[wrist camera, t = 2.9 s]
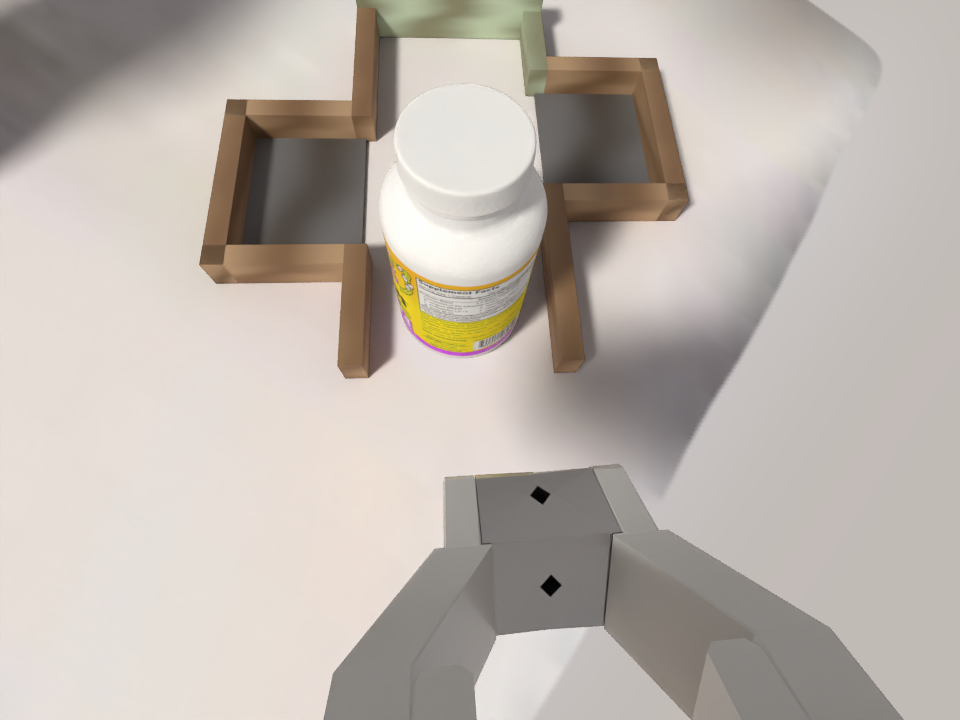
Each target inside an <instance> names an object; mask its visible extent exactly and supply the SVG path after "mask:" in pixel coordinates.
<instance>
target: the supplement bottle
mask: <svg viewBox="0 0 960 720" xmlns="http://www.w3.org/2000/svg"><path fill="white" fill-rule="evenodd" d="M394 146H395V153H396V161H395V162H394V164H393V165H392V166H391V168H390V170H389V171H388V173H387V175H386V177H385V179H384V182H383V185H382V188H381V192H380V198H379V216H380V221H381V227H382V231H383V236H384V240H385V244H386V248H387V253H388V257H389V261H390V266H391V271H392V275H393V279H394V284H395V289H396V293H397V297H398V301H399V306H400V310H401V314H402V317H403V320H404V322H405V325H406V327H407V329H408V330H409V332H410V333H411V335H412V336H413V337H414V338H415V339H416V340H417V341H418V342H419V343H420V344H421V345H422V346H423V347H425V348H426V349H428V350H429V351H431V352H433V353H435V354H438V355H441V356H444V357H448V358H459V359H465V358H473V357H477V356H481V355H483V354H486V353H488V352H490V351H492V350H494V349H495V348H497V347H498V346H499V345H501V344H502V343H503V342H504V341H505V340H506V339H507V338H508V336H509V335H510V334H511V332H512V331H513V329H514V327H515V325H516V323H517V320H518V317H519V313H520V310H521V307H522V303H523V300H524V297H525V293H526V290H527V286H528V283H529V280H530V276H531V273H532V269H533V266H534V262H535V259H536V256H537V253H538V249H539V246H540V243H541V239H542V236H543V232H544V229H545V225H546V220H547V198H546V193H545V189H544V186H543V183H542V181H541V178H540V177H539V175H538V173H537V171H536V169H535V168H534V167H533V164H534V158H535V153H536V133H535V129H534V126H533V124H532V121H531V119H530V117H529V116H528V114H527V113H526V111H525V110H524V109H523V108H522V107H521V106H520V105H519V104H518V103H517V102H516V101H515V100H513V99H512V98H511V97H510V96H508V95H506V94H504V93H502V92H500V91H498V90H496V89H493V88H490V87H487V86H483V85H477V84H465V83H461V84H450V85H444V86H440V87H436V88H433V89H431V90H428V91H426V92H424V93H423V94H421V95H419V96H418V97H416V98H415V99H414V100H413V101H411V102H410V103H409V104H408V105H407V107H406V108H405V109H404V110H403V112H402V113H401V115H400V117H399V119H398V121H397V123H396V127H395V132H394Z"/></svg>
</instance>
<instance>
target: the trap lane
mask: <svg viewBox="0 0 960 720" xmlns="http://www.w3.org/2000/svg"><path fill="white" fill-rule="evenodd" d="M542 2H543V0H356V3H357V22H356V40H355V58H354V76H353V94H352V101H329V100H233V99H227V104H226V110H225V116H224V122H223V128H222V133H221V139H220V145H219V151H218V157H217V163H216V169H215V175H214V181H213V187H212V193H211V198H210V204H209V210H208V216H207V222H206V228H205V234H204V240H203V246H202V252H201V258H200V263H199V265H200V266H201V267H202V268H203V270H204V271H205V272H206V273H207V274H208V275H209V276H210V277H211V278H212V279H213V281H214V282H215V283H216V284H224V283H296V282H342V293H341V311H340V329H339V347H338V365H337V366H338V367H339V369H340V371H341V372H342V374H343V375H344V377H345V378H368V377H369V346H370V315H371V284H372V261H371V257H370V254H369V250H368V247H367V244H362V243H363V219H364V194H365V170H366V145H367V141H376V129H377V98H378V67H379V37H432V38H484V39H520V47H521V56H522V66H523V76H524V85H525V95H526V96H534V98H535V107H536V116H537V125H538V134H539V143H540V152H541V161H542V170H543V179H544V183H543V186H544V189H545V193H546V198H547V220H546V225H545V229H544V232H543V236H542V239H541V250H542V260H543V270H544V280H545V289H546V299H547V309H548V318H549V328H550V338H551V348H552V357H553V367H554V373H569V372H576V371H577V370H578V369H579V367H580V366H581V364H582V363H583V362H584V360H585V356H584V348H583V340H582V332H581V324H580V316H579V308H578V300H577V293H576V285H575V277H574V269H573V261H572V253H571V245H570V237H569V229H568V222H567V221H675V220H676V218H677V217H678V215H679V214H680V212H681V211H682V209H683V208H684V207H685V205H686V204H687V202H688V201H689V197H688V193H687V189H686V184H685V180H684V176H683V171H682V167H681V163H680V158H679V154H678V150H677V145H676V141H675V137H674V132H673V128H672V124H671V119H670V115H669V111H668V106H667V102H666V98H665V93H664V89H663V85H662V80H661V76H660V72H659V67H658V63H657V59H656V58H611V57H551V56H546V48H545V40H544V32H543V24H542V16H541V8H542Z"/></svg>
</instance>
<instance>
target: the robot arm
mask: <svg viewBox="0 0 960 720" xmlns="http://www.w3.org/2000/svg"><path fill="white" fill-rule="evenodd" d="M443 498H444V548H439V549H434V550H433V551H432V553H431V554H430V555H429V556H428V558H427V559H426V560H425V561H424V562H423V564H422V565H421V566H420V567H419V569H418V570H417V571H416V572H415V573H414V575H413V576H412V577H411V578H410V580H409V581H408V582H407V583H406V585H405V586H404V587H403V588H402V589H401V591H400V592H399V593H398V594H397V596H396V597H395V598H394V599H393V600H392V602H391V603H390V604H389V605H388V607H387V608H386V609H385V610H384V612H383V613H382V614H381V615H380V616H379V618H378V619H377V620H376V621H375V623H374V624H373V625H372V626H371V627H370V629H369V630H368V631H367V632H366V634H365V635H364V636H363V637H362V639H361V640H360V641H359V642H358V643H357V645H356V646H355V647H354V648H353V650H352V651H351V652H350V653H349V654H348V656H347V657H346V658H345V659H344V661H343V662H342V663H341V664H340V666H339V667H338V668H337V669H336V670H335V672H334V673H333V676H332V681H331V686H330V691H329V696H328V700H327V705H326V710H325V715H324V720H477V719H476V705H475V691H474V686H475V684H476V682H477V679H478V677H479V675H480V673H481V671H482V668H483V666H484V664H485V662H486V660H487V658H488V655H489V653H490V651H491V649H492V647H493V644H494V642H495V640H496V636H497V635H505V634H513V633H521V632H530V631H538V630H546V629H549V628H550V629H560V628H576V627H592V626H604V629H605V630H606V631H607V632H608V633H609V634H610V635H611V636H612V637H613V638H614V639H615V640H616V641H617V642H618V643H619V644H620V646H621V647H622V648H623V649H624V650H625V651H626V652H627V653H628V654H629V655H630V656H631V657H632V658H633V659H634V660H635V661H636V662H637V663H638V664H639V665H640V667H641V668H642V669H643V670H644V671H645V672H646V673H647V674H648V675H649V676H650V677H651V678H652V679H653V680H654V681H655V682H656V683H657V684H658V685H659V686H660V687H661V689H663V691H664V692H665V693H666V694H667V695H668V696H669V697H670V698H671V699H672V700H673V701H674V702H675V703H676V704H677V705H678V706H679V707H680V708H681V709H682V710H683V712H685V713H686V715H687V716H688V717H689V718H690V719H691V720H903V718H902V717H901V716H900V714H899V713H898V712H897V711H896V709H895V708H894V707H893V706H892V704H891V703H890V702H889V701H888V700H887V698H886V697H885V696H884V694H883V693H882V692H881V691H880V689H879V688H878V687H877V686H876V684H875V683H874V682H873V681H872V680H871V678H870V677H869V676H868V674H867V673H866V672H865V671H864V669H863V668H862V667H861V666H860V664H859V663H858V662H857V661H856V660H855V658H854V657H853V656H852V654H851V653H850V652H849V651H848V650H847V648H846V647H845V646H844V644H843V643H842V642H841V641H840V639H839V638H838V637H837V636H836V634H835V633H834V632H833V631H832V629H831V628H830V627H828V626H826V625H824V624H823V623H821V622H820V621H818V620H816V619H815V618H813V617H811V616H810V615H808V614H806V613H805V612H803V611H801V610H800V609H798V608H796V607H795V606H793V605H792V604H790V603H788V602H787V601H785V600H783V599H782V598H780V597H778V596H777V595H775V594H773V593H772V592H770V591H768V590H767V589H765V588H764V587H762V586H760V585H759V584H757V583H755V582H754V581H752V580H750V579H749V578H747V577H745V576H744V575H742V574H740V573H739V572H737V571H735V570H734V569H732V568H730V567H729V566H727V565H725V564H724V563H722V562H721V561H719V560H717V559H715V558H714V557H712V556H710V555H709V554H707V553H706V552H704V551H702V550H701V549H699V548H697V547H696V546H694V545H692V544H691V543H689V542H687V541H686V540H684V539H682V538H681V537H679V536H678V535H676V534H674V533H673V532H671V531H669V530H658V528H657V526H656V525H655V523H654V521H653V519H652V518H651V516H650V514H649V512H648V511H647V509H646V507H645V505H644V504H643V502H642V500H641V498H640V497H639V495H638V493H637V491H636V490H635V488H634V486H633V484H632V483H631V481H630V479H629V477H628V476H627V474H626V472H625V470H624V469H623V467H622V466H620V465H619V464H613V465H603V466H594V467H589V468H583V469H571V470H558V471H545V472H523V473H504V474H486V475H475V478H474V476H473V475H470V476H455V477H445V478H444V482H443Z"/></svg>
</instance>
